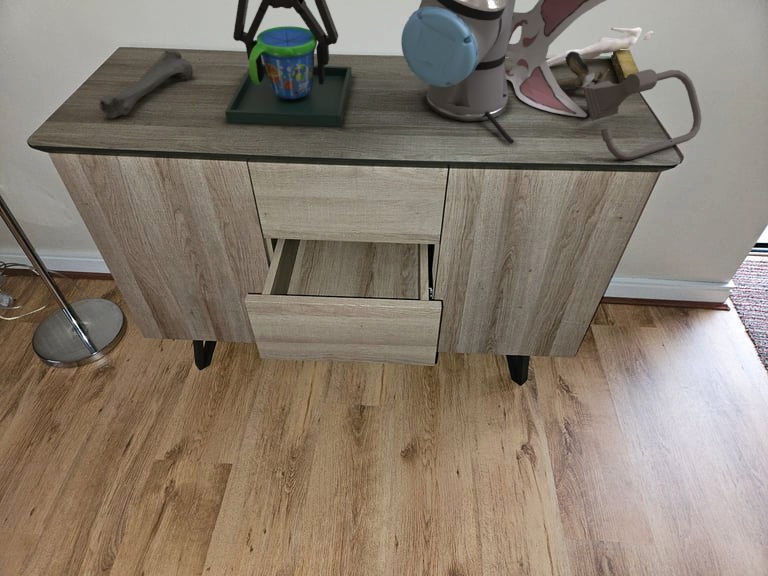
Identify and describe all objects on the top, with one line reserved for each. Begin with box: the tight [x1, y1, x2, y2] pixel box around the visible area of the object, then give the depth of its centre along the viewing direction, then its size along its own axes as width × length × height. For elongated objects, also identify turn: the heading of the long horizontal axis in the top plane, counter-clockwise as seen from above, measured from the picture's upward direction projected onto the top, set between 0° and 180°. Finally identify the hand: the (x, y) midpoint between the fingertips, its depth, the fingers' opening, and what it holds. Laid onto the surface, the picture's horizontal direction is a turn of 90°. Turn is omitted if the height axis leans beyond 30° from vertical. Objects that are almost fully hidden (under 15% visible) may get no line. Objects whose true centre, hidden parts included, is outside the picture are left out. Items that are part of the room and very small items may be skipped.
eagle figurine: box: [556, 51, 610, 90], centre depth 101 cm, size 8×7×9 cm
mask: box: [504, 0, 607, 118], centre depth 103 cm, size 23×12×30 cm
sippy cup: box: [248, 25, 326, 99], centre depth 95 cm, size 16×10×10 cm
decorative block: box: [610, 49, 640, 84], centre depth 109 cm, size 15×2×4 cm
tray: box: [224, 63, 353, 128], centre depth 99 cm, size 20×20×2 cm
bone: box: [98, 48, 194, 119], centre depth 98 cm, size 22×6×6 cm, turn 159°
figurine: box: [546, 26, 654, 68], centre depth 110 cm, size 10×4×25 cm
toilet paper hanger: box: [582, 68, 702, 161], centre depth 91 cm, size 22×11×15 cm
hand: (291, 80), depth 97 cm, fingers closed on sippy cup, 11 cm apart
